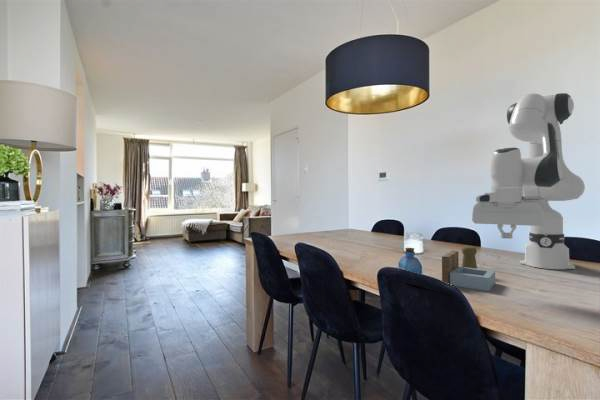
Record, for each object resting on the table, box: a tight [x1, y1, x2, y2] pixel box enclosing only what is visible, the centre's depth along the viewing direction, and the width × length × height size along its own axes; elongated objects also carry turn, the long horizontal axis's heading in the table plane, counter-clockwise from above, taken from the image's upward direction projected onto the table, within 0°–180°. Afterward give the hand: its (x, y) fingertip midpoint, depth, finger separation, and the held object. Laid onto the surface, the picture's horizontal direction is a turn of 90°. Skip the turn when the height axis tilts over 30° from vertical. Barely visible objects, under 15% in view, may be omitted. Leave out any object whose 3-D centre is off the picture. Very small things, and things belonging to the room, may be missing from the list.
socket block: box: [450, 266, 496, 292], centre depth 113 cm, size 12×12×4 cm
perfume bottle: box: [398, 247, 423, 275], centre depth 119 cm, size 6×6×12 cm
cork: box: [461, 245, 478, 269], centre depth 128 cm, size 6×6×11 cm
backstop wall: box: [441, 250, 460, 284], centre depth 118 cm, size 14×2×10 cm, turn 140°
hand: (506, 238), depth 107 cm, fingers closed
